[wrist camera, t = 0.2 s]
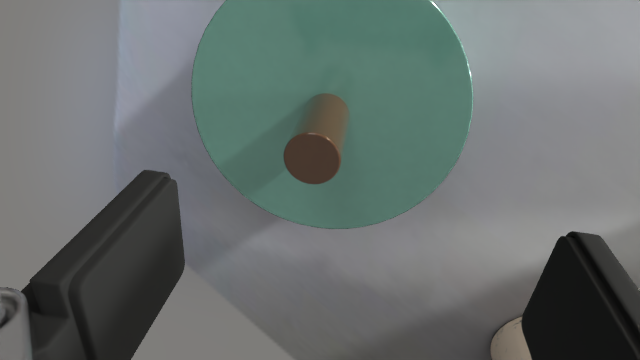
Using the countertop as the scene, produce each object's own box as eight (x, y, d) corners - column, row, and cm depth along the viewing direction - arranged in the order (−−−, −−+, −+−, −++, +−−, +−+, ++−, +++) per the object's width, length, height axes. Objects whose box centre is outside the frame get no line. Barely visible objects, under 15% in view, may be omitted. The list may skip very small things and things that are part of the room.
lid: (190, -60, 20) (118, -57, 14) (507, -26, 19) (554, -11, 13) (205, 200, 27) (161, 264, 22) (434, 234, 26) (446, 311, 21)
